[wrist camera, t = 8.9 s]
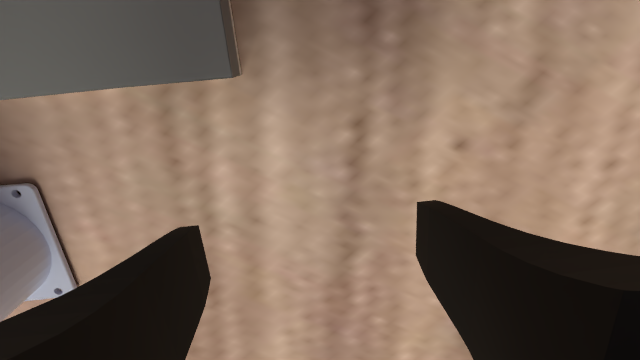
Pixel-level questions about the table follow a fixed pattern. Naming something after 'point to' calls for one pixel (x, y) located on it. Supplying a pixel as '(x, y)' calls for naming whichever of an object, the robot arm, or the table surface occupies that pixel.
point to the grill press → (107, 44)
